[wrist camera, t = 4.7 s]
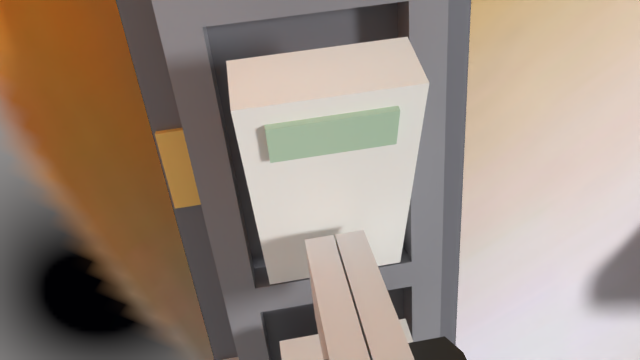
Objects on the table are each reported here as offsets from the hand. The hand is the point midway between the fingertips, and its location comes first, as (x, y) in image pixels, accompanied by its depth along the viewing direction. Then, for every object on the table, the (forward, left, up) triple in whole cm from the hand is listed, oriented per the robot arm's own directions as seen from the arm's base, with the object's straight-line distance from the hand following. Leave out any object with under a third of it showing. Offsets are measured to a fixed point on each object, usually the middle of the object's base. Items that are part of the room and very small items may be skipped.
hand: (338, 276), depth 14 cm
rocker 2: (+3, 0, -1) cm, 3 cm away
